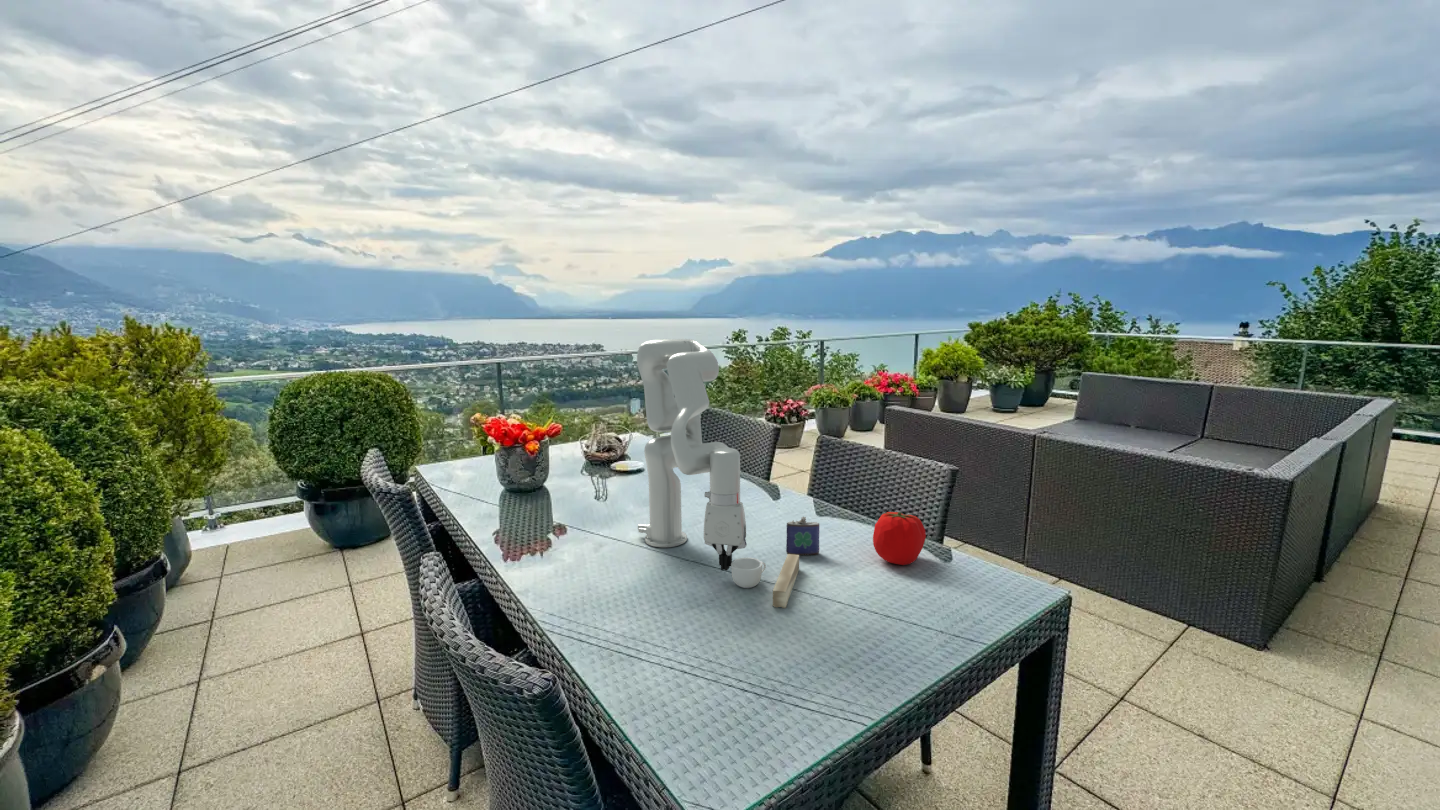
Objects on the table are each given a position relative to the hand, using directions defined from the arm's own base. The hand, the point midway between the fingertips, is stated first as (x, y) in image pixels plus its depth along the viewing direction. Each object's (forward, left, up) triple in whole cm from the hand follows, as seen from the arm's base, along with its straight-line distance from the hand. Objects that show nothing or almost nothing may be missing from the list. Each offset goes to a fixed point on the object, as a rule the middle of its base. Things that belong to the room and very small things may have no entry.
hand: (725, 568), depth 147 cm
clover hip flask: (+17, +22, -3) cm, 28 cm away
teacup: (+6, 0, -3) cm, 7 cm away
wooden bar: (+16, 0, -3) cm, 16 cm away
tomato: (+43, +24, -3) cm, 49 cm away
